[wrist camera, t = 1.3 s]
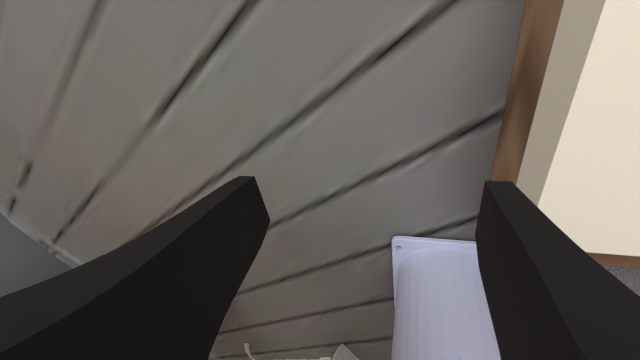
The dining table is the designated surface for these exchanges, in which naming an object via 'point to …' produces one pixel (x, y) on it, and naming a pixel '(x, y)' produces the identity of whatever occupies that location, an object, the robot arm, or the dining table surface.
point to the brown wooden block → (533, 100)
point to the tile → (590, 128)
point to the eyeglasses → (342, 356)
